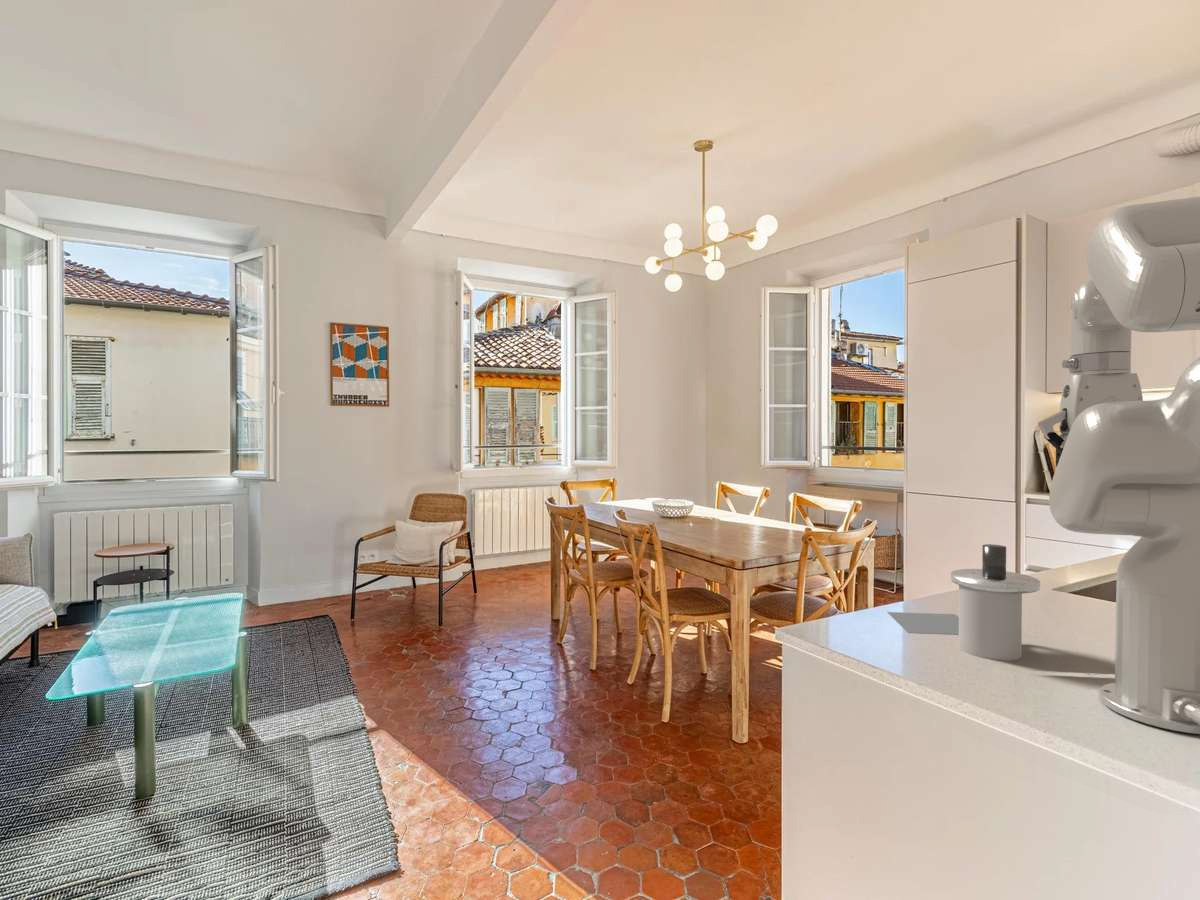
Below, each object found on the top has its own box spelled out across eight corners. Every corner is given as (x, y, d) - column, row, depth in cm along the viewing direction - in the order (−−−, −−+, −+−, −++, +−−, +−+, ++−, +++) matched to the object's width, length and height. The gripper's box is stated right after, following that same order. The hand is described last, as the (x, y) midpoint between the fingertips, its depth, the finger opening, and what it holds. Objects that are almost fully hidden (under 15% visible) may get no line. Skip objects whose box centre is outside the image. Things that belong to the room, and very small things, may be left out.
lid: (1056, 594, 92) (1057, 554, 92) (969, 592, 94) (969, 553, 94) (1016, 575, 104) (1016, 540, 104) (939, 573, 106) (939, 539, 105)
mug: (1009, 668, 92) (1009, 595, 92) (948, 652, 99) (949, 584, 99) (1038, 650, 99) (1038, 582, 99) (980, 636, 106) (980, 573, 106)
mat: (983, 638, 105) (983, 635, 105) (908, 636, 107) (908, 632, 107) (954, 617, 117) (954, 614, 117) (887, 615, 119) (887, 612, 119)
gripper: (1053, 365, 97) (1052, 475, 97) (1179, 362, 94) (1177, 474, 94) (1028, 370, 104) (1027, 471, 105) (1144, 366, 101) (1142, 471, 102)
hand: (1098, 473), depth 99 cm, fingers open, 9 cm apart
